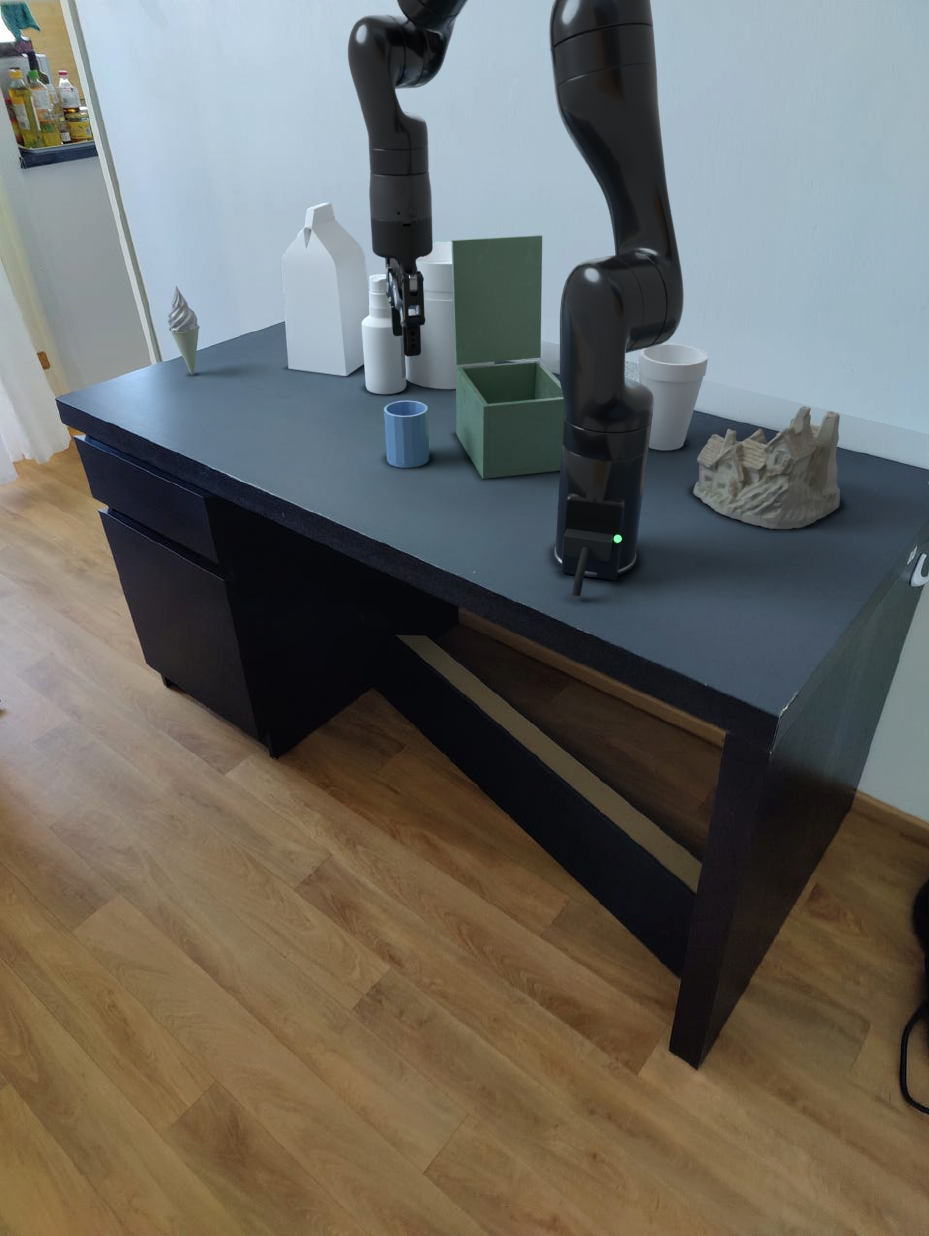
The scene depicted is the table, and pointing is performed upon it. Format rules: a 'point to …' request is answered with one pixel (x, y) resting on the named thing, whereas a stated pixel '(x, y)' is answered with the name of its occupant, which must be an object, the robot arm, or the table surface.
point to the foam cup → (672, 390)
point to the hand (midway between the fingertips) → (406, 344)
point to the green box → (510, 418)
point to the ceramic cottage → (773, 474)
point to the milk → (324, 296)
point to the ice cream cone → (184, 329)
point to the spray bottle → (382, 343)
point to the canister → (436, 324)
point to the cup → (406, 433)
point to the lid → (497, 298)
